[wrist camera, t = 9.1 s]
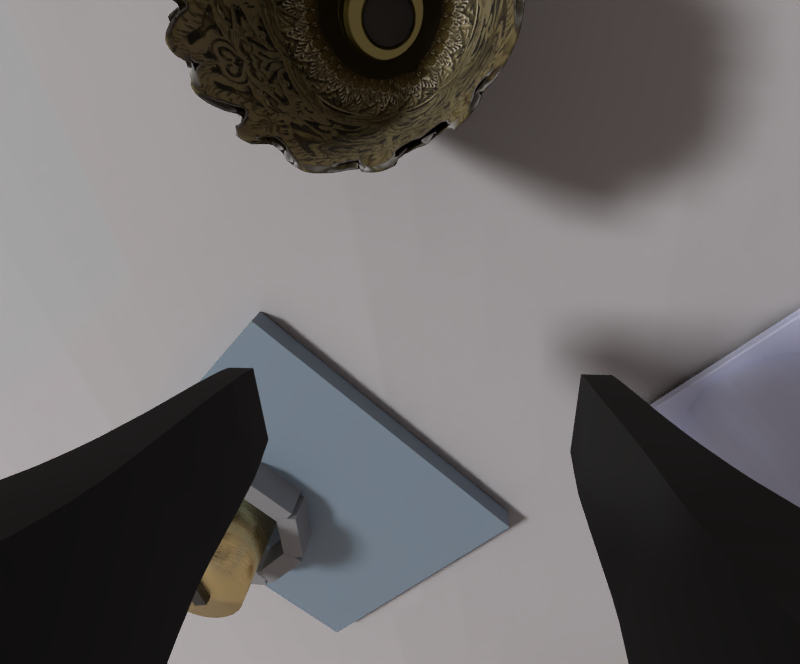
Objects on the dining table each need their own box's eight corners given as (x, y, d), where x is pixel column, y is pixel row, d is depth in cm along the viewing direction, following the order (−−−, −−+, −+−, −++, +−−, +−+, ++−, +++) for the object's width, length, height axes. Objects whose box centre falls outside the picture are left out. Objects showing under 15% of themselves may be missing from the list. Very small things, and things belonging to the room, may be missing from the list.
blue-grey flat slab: (507, 511, 25) (512, 552, 23) (340, 616, 31) (331, 657, 29) (260, 311, 21) (237, 337, 19) (122, 472, 27) (92, 506, 25)
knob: (287, 535, 26) (252, 624, 22) (222, 540, 27) (176, 627, 23) (260, 480, 25) (217, 565, 20) (192, 488, 26) (136, 571, 21)
